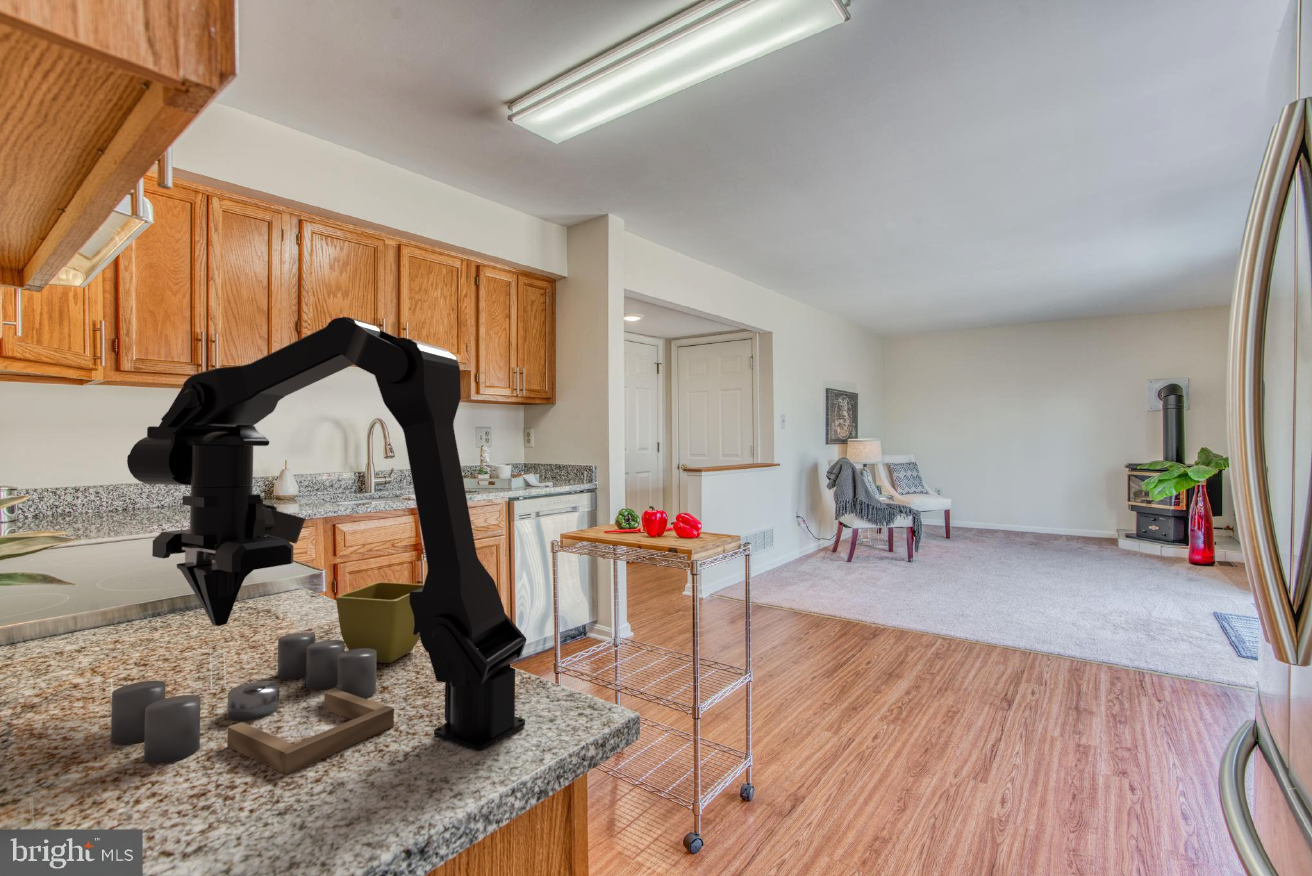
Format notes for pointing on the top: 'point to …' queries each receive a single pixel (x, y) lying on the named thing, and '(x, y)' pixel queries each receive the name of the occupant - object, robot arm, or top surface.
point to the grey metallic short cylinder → (253, 701)
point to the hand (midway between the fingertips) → (219, 624)
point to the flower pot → (379, 619)
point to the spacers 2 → (327, 664)
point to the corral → (292, 757)
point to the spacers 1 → (156, 721)
